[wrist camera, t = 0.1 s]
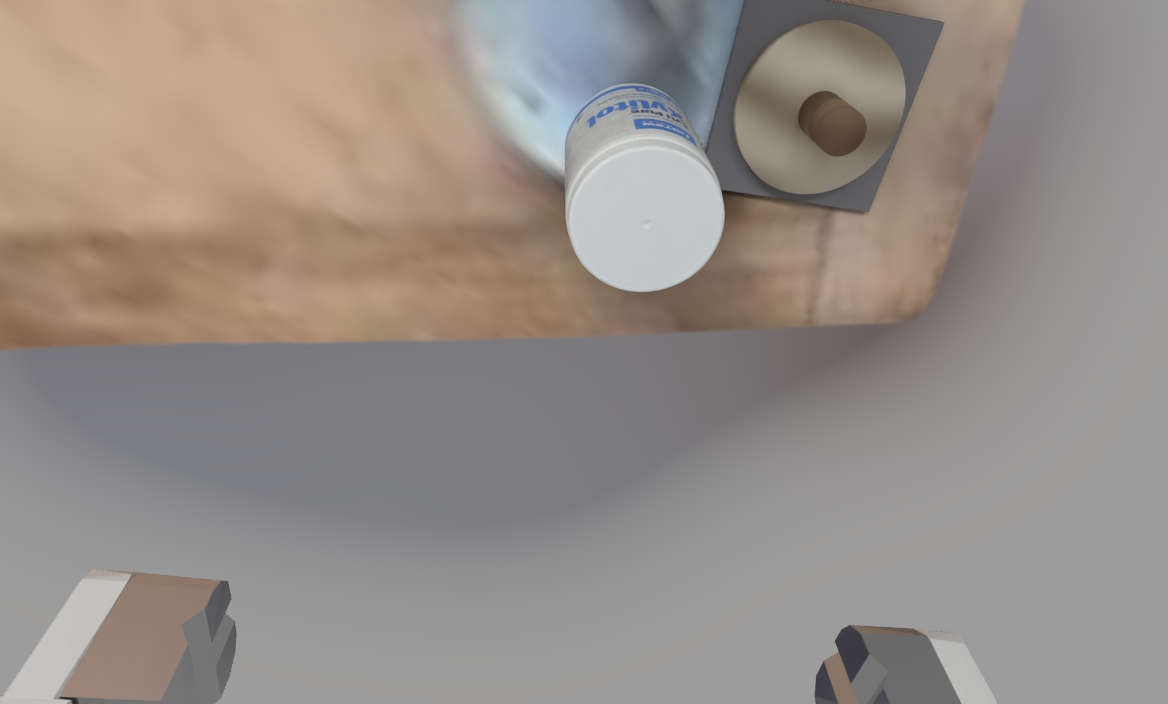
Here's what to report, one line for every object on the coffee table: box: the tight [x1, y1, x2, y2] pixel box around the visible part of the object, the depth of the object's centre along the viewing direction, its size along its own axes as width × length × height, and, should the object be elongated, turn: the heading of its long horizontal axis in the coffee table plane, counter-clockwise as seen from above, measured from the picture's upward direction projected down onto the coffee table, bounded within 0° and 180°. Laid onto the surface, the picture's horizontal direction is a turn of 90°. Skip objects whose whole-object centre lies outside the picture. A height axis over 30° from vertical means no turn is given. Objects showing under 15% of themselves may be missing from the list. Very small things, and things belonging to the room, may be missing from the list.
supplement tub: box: [565, 83, 725, 292], centre depth 48 cm, size 10×10×15 cm
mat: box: [705, 0, 944, 212], centre depth 53 cm, size 14×14×1 cm
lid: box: [733, 20, 906, 194], centre depth 51 cm, size 12×12×6 cm
